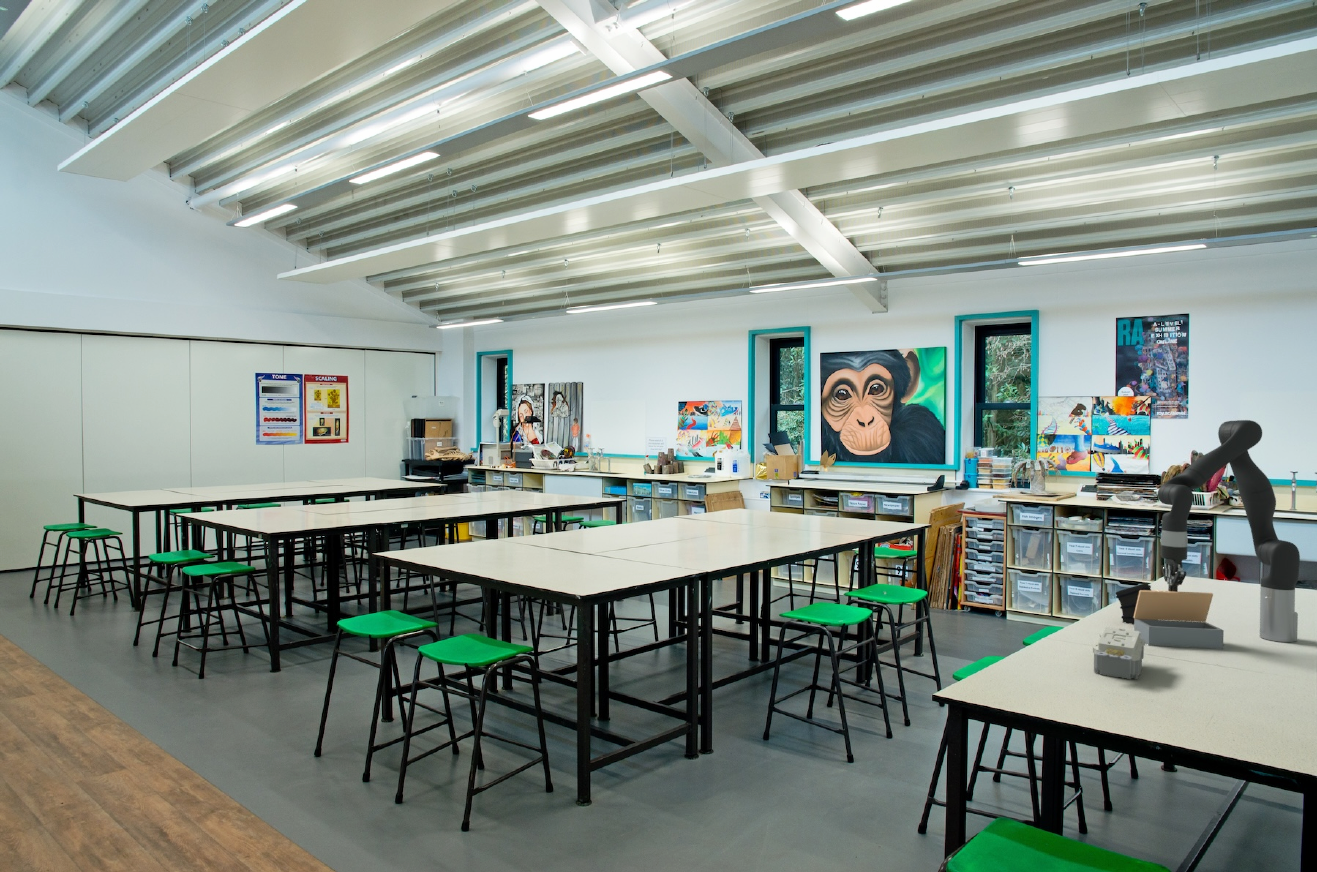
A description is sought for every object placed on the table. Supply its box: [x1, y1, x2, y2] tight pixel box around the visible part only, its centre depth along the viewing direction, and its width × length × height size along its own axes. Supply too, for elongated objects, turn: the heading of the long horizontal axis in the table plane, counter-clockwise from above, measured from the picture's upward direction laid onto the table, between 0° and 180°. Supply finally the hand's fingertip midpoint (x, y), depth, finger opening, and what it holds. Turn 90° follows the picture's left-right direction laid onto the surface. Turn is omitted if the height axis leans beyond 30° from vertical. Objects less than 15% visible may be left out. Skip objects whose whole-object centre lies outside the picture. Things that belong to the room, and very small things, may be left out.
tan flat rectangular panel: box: [1134, 590, 1214, 622], centre depth 269 cm, size 22×11×1 cm
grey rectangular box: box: [1133, 619, 1225, 650], centre depth 265 cm, size 22×11×6 cm, turn 81°
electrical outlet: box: [1092, 626, 1146, 680], centre depth 234 cm, size 12×28×10 cm, turn 145°
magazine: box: [1115, 582, 1152, 625], centre depth 291 cm, size 4×13×15 cm, turn 52°
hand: (1172, 596), depth 269 cm, fingers closed
